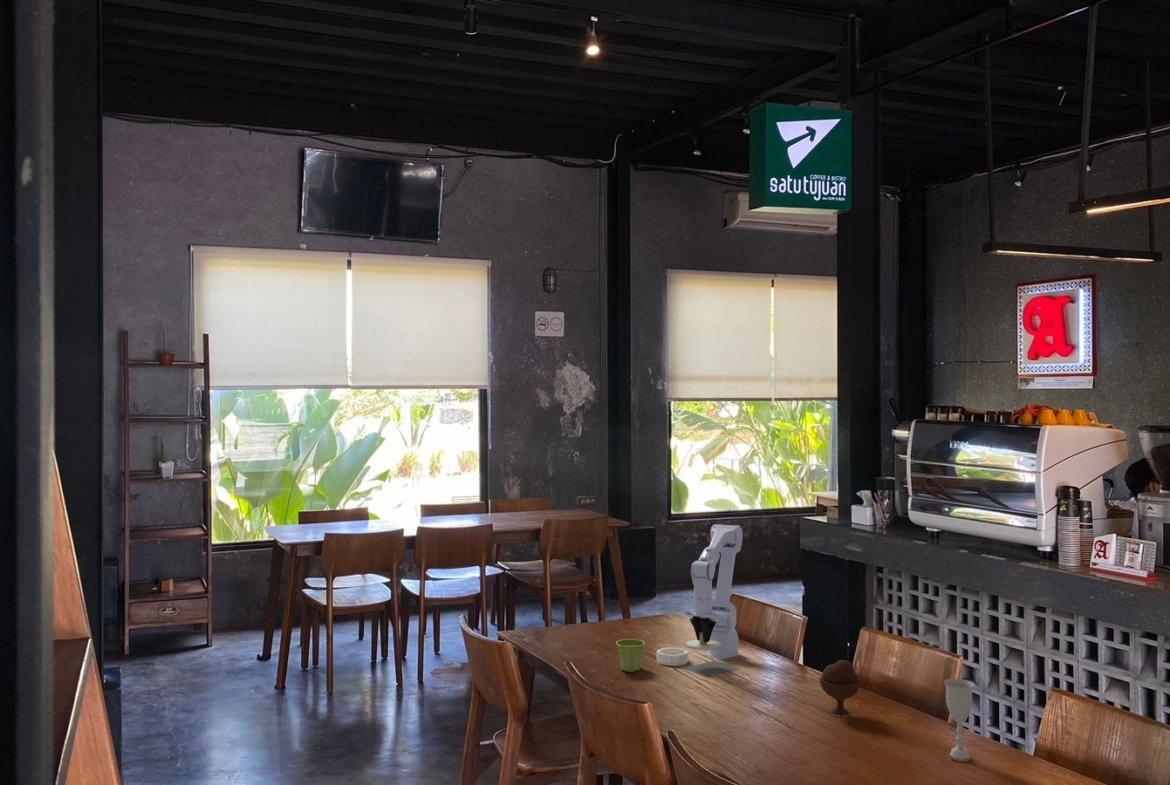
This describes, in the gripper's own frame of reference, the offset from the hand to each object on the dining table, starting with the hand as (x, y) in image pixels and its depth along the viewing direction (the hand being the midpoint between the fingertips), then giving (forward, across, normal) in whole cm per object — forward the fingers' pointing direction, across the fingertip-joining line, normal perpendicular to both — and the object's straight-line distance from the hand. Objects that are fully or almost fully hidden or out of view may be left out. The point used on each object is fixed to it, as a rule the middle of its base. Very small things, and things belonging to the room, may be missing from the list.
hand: (703, 640), depth 319 cm
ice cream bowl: (+9, +57, -3) cm, 57 cm away
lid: (+2, 0, 0) cm, 2 cm away
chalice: (+9, +96, -8) cm, 96 cm away
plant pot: (+9, -14, -19) cm, 25 cm away
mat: (+9, +3, +1) cm, 9 cm away
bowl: (+9, -11, -3) cm, 15 cm away
